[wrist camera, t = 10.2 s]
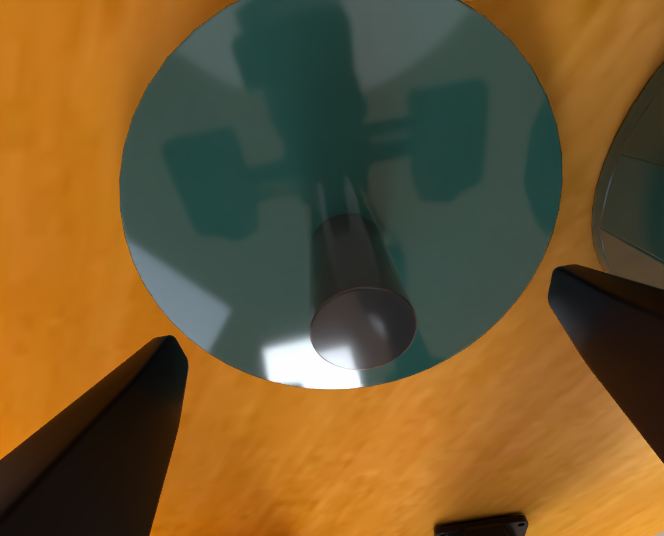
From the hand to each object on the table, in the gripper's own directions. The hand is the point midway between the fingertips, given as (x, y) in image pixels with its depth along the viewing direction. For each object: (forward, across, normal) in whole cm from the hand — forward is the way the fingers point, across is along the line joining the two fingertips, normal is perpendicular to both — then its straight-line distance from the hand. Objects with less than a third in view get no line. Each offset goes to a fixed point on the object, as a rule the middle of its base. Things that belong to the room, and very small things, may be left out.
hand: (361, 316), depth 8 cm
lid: (+4, 0, 0) cm, 4 cm away
